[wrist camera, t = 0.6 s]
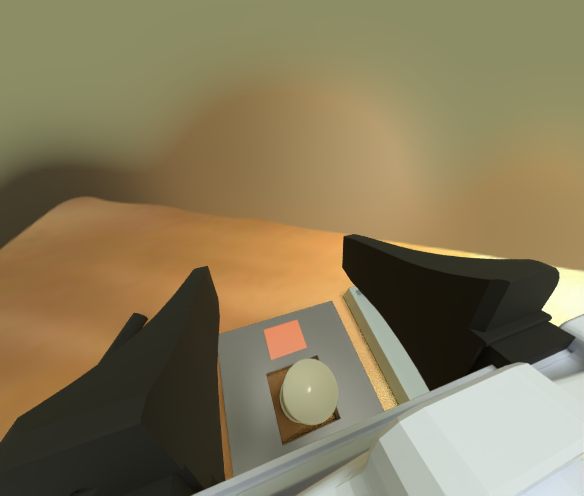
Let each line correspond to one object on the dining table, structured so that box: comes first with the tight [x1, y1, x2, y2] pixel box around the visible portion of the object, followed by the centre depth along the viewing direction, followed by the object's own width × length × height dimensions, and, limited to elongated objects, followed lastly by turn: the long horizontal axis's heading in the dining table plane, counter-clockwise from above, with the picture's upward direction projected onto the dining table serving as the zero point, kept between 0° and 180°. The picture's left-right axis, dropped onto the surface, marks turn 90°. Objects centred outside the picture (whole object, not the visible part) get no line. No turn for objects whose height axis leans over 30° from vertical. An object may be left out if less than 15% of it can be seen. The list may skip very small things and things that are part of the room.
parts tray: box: [344, 286, 430, 405], centre depth 25 cm, size 17×15×2 cm
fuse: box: [279, 359, 338, 425], centre depth 19 cm, size 4×4×7 cm
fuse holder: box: [218, 301, 384, 477], centre depth 21 cm, size 16×14×2 cm
